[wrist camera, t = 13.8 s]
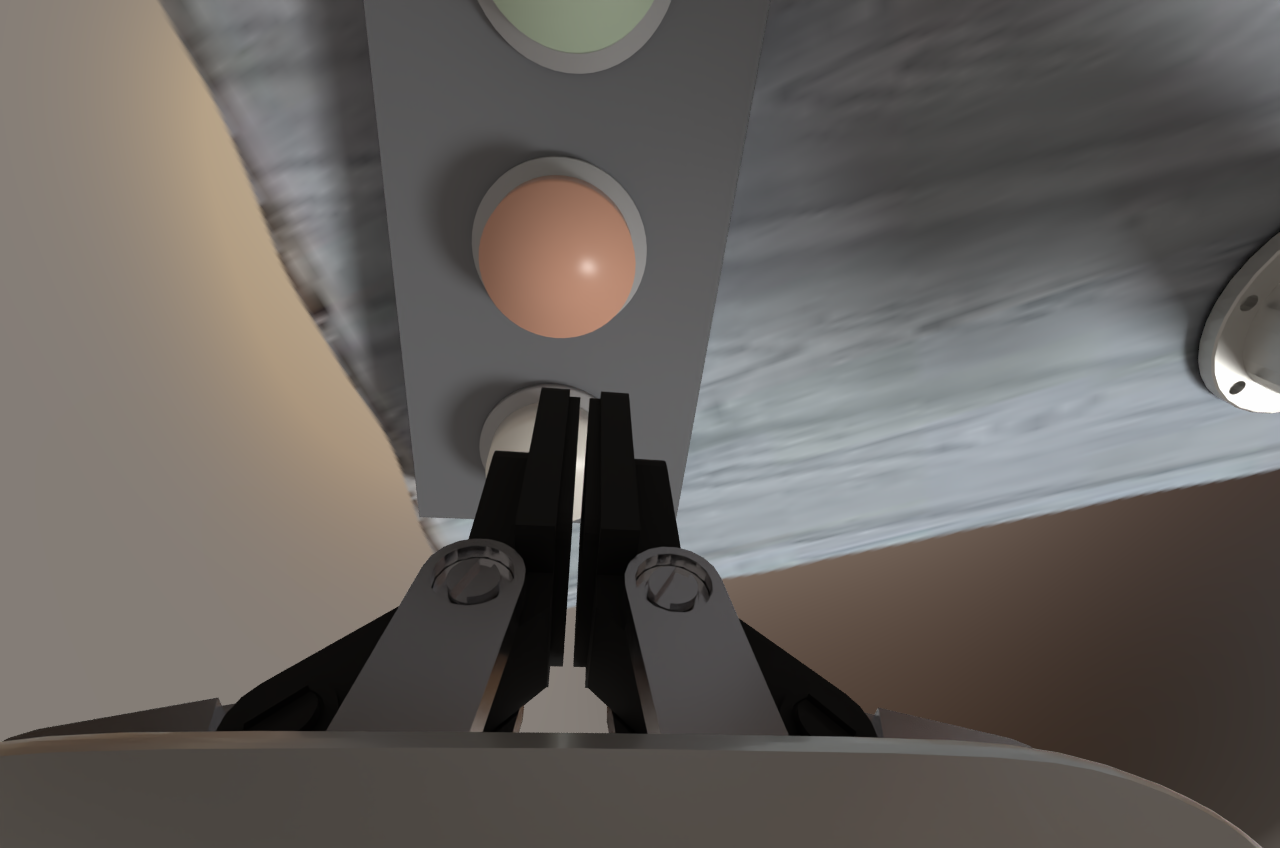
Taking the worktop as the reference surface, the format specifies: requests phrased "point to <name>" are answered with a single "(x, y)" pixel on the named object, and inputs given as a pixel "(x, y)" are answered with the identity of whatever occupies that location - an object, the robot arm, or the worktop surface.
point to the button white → (518, 439)
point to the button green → (575, 21)
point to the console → (541, 146)
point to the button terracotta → (557, 257)
